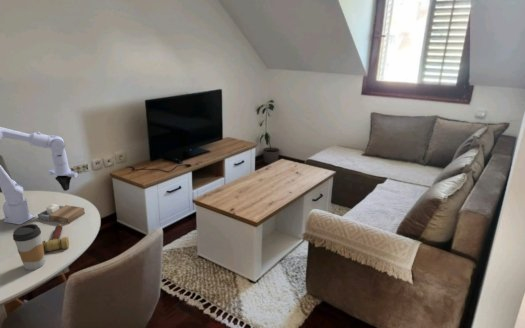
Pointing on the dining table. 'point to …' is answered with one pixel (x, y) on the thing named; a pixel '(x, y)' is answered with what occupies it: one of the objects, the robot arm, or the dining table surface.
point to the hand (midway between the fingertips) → (66, 189)
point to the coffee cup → (30, 246)
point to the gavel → (56, 241)
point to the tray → (45, 215)
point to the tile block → (52, 208)
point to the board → (67, 214)
